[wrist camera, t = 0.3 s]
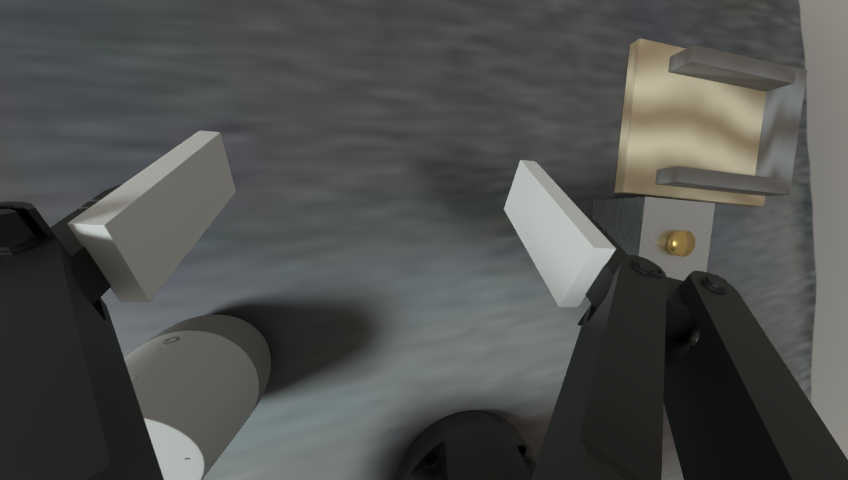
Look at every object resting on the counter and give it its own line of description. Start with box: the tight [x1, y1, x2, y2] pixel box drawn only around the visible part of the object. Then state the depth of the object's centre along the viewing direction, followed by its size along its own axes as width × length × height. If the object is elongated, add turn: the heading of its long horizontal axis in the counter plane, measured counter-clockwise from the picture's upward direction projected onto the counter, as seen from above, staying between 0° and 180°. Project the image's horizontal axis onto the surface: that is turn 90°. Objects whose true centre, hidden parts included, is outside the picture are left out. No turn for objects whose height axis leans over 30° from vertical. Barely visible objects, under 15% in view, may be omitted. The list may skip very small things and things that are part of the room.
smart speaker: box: [124, 315, 271, 480], centre depth 21 cm, size 10×9×14 cm
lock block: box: [592, 197, 715, 281], centre depth 32 cm, size 8×8×7 cm
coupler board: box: [614, 39, 807, 207], centre depth 34 cm, size 16×20×4 cm
